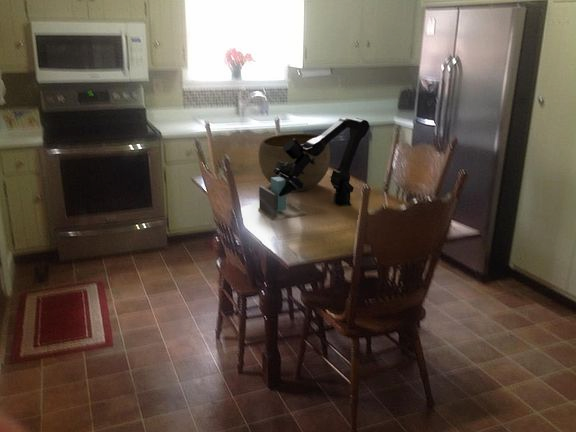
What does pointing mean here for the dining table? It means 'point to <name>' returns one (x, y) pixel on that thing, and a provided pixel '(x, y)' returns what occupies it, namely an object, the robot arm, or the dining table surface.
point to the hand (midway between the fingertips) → (275, 193)
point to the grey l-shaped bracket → (269, 206)
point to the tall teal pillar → (276, 188)
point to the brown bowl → (274, 152)
